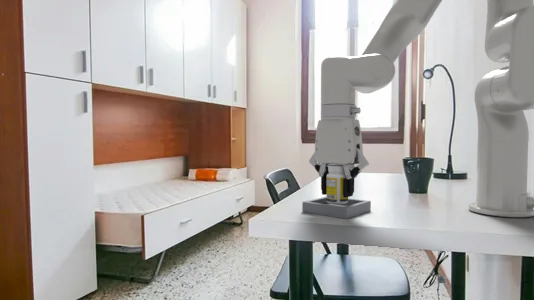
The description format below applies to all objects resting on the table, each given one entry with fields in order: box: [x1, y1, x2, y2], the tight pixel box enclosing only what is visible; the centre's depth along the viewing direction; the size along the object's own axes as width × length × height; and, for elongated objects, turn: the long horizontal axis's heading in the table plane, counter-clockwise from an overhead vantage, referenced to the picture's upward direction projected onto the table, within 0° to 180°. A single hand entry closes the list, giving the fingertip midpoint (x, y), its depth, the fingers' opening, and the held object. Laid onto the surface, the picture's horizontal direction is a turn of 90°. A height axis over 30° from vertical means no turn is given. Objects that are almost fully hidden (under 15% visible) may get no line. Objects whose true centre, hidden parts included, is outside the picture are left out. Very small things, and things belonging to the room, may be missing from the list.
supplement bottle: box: [325, 164, 349, 204], centre depth 85 cm, size 5×5×8 cm
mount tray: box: [301, 196, 372, 220], centre depth 85 cm, size 11×11×2 cm
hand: (337, 194), depth 85 cm, fingers closed on supplement bottle, 4 cm apart
